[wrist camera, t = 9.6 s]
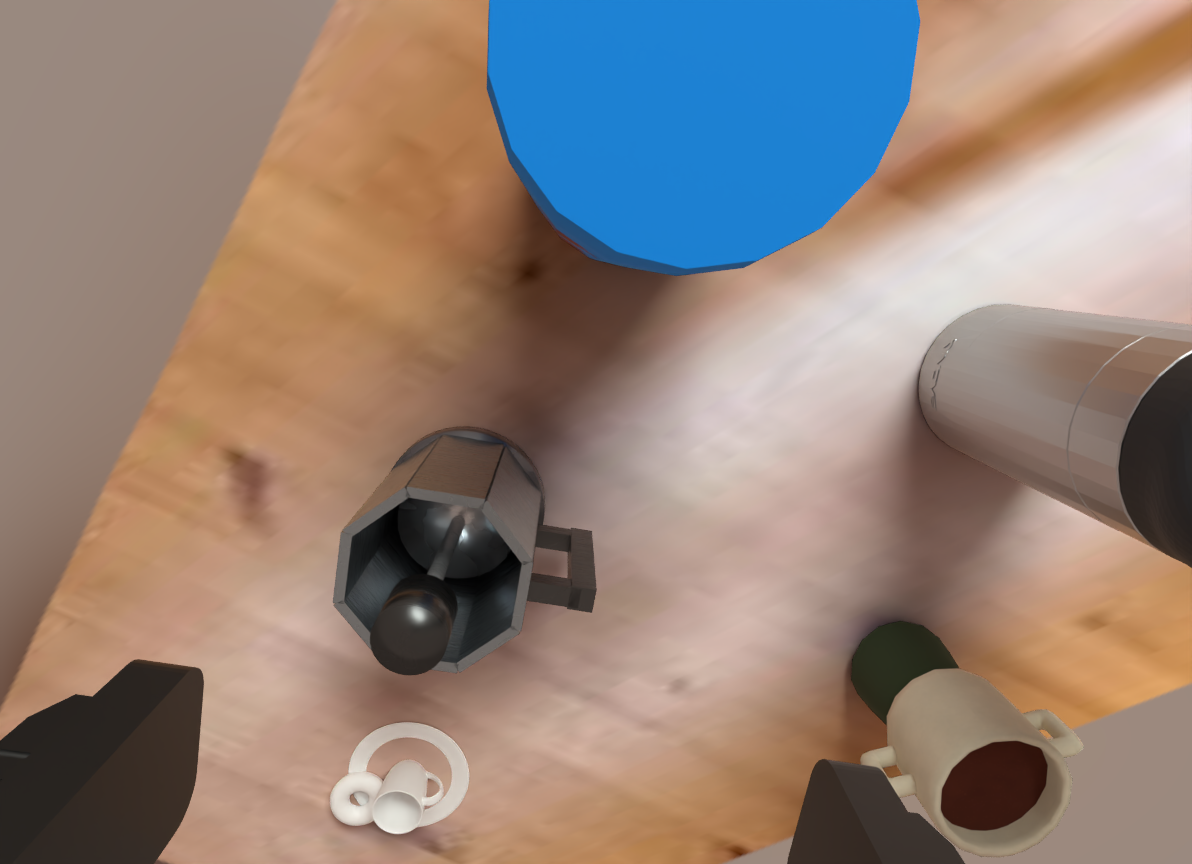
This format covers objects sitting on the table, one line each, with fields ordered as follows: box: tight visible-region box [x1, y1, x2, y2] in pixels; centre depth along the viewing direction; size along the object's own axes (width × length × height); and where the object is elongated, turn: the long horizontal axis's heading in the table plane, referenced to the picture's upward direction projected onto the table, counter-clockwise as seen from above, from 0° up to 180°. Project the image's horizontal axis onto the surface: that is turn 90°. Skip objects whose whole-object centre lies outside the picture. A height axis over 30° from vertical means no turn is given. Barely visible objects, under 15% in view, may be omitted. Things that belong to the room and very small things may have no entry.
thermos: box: [487, 0, 920, 276], centre depth 31 cm, size 11×11×25 cm
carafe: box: [333, 427, 596, 673], centre depth 41 cm, size 12×10×12 cm
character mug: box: [851, 621, 1084, 857], centre depth 44 cm, size 11×7×13 cm, turn 104°
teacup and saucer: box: [330, 722, 469, 834], centre depth 49 cm, size 9×8×4 cm
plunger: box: [370, 498, 511, 675], centre depth 37 cm, size 7×7×14 cm
